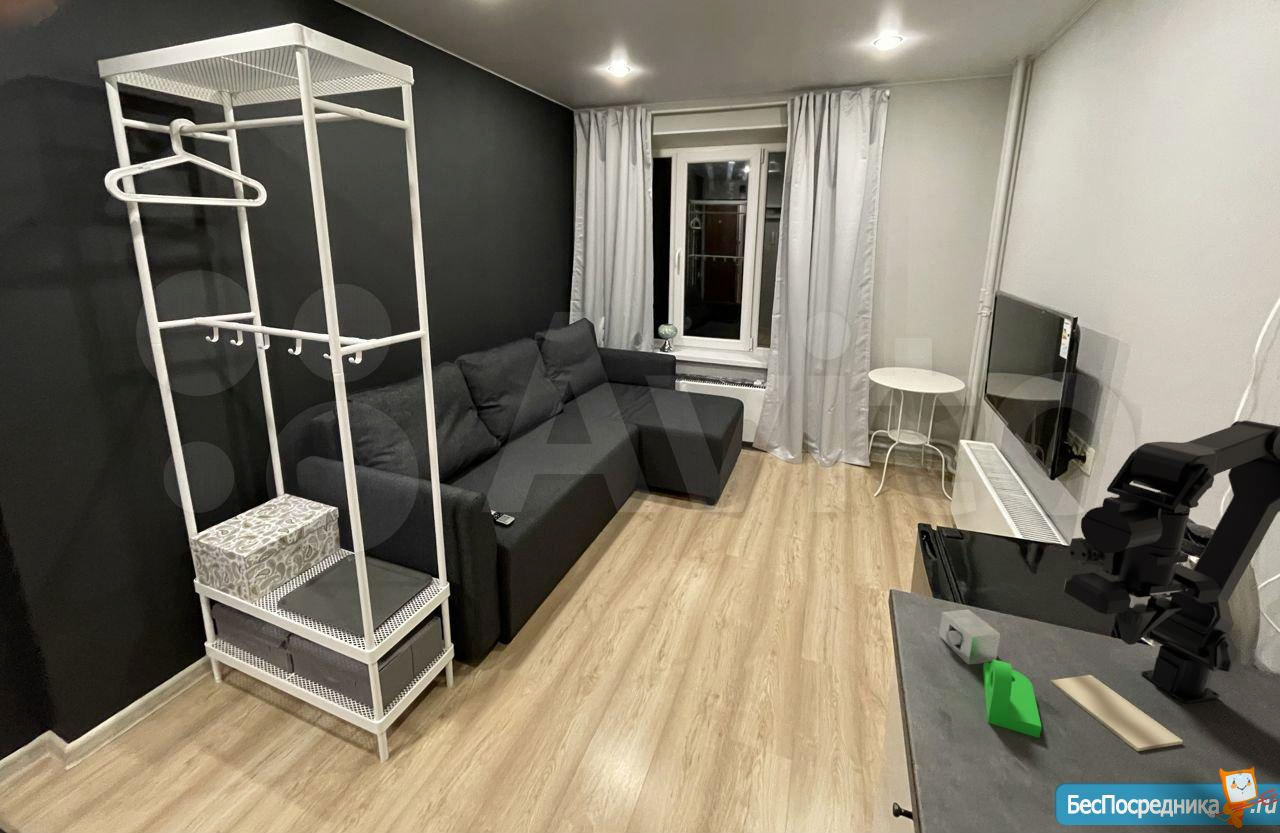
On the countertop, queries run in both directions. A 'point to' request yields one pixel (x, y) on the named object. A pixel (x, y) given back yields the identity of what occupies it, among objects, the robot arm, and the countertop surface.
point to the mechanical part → (1010, 699)
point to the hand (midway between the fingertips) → (1128, 642)
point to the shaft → (956, 636)
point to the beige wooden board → (1116, 713)
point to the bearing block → (971, 636)
